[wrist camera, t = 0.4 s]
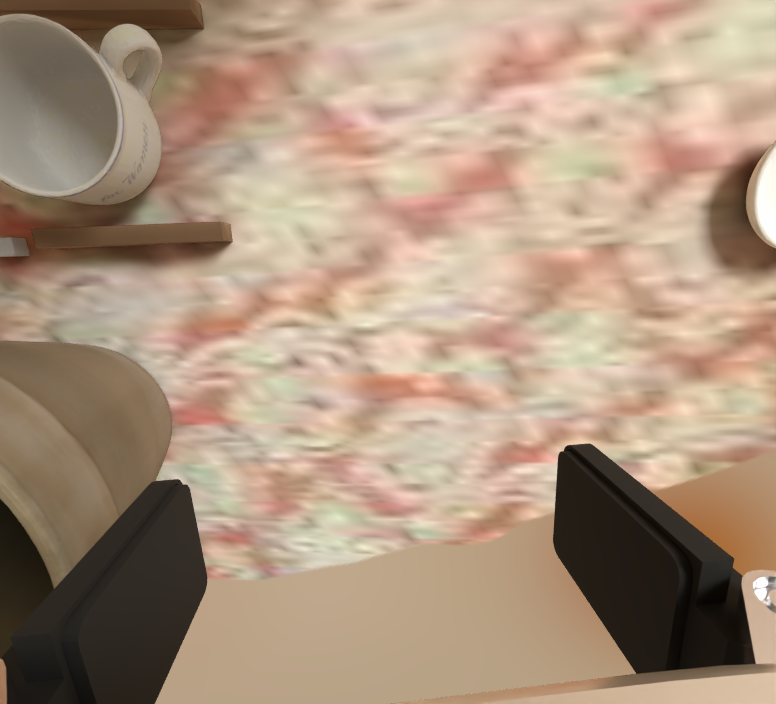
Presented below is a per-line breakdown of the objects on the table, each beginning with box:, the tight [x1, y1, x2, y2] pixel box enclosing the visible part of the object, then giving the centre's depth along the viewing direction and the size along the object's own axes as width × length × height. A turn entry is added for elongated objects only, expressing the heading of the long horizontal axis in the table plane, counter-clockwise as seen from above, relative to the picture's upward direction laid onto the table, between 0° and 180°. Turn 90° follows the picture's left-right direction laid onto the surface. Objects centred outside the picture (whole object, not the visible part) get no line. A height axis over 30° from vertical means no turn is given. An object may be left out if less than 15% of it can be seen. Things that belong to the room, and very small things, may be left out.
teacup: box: [0, 14, 162, 205], centre depth 29 cm, size 14×11×8 cm
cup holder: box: [0, 0, 233, 249], centre depth 31 cm, size 18×15×2 cm
